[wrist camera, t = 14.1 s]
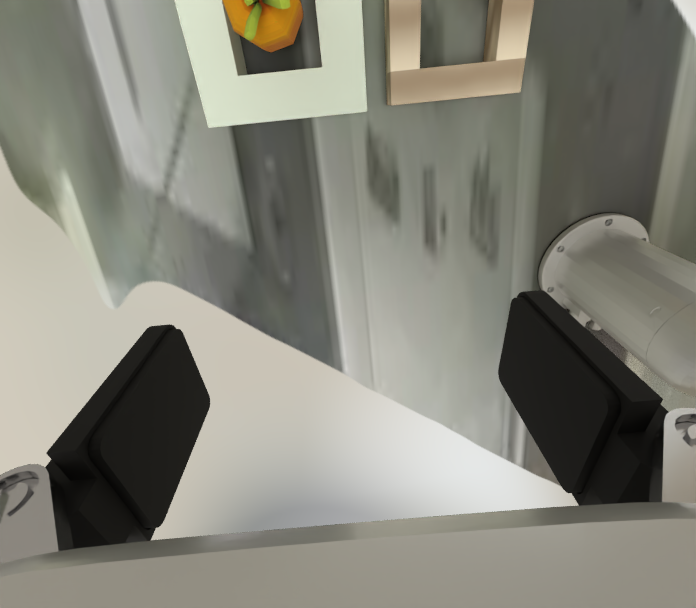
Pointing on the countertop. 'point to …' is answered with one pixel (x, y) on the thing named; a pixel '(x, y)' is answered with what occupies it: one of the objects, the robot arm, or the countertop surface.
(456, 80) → the socket block
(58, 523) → the robot arm
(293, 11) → the carrot
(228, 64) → the pale green square frame
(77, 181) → the countertop surface
